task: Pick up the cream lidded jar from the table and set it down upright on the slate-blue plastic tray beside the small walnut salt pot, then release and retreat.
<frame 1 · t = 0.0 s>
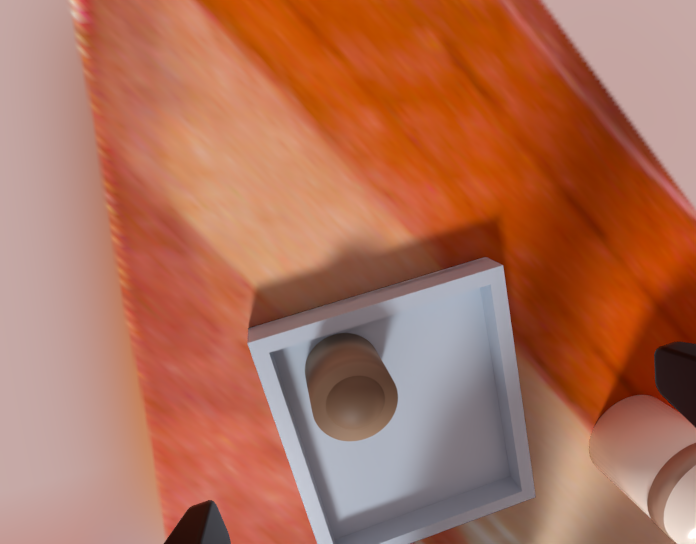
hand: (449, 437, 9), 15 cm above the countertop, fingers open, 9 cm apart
cream lidded jar: (629, 435, 30), on the countertop
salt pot: (342, 368, 24), resting on tray
tray: (399, 410, 26), on the countertop
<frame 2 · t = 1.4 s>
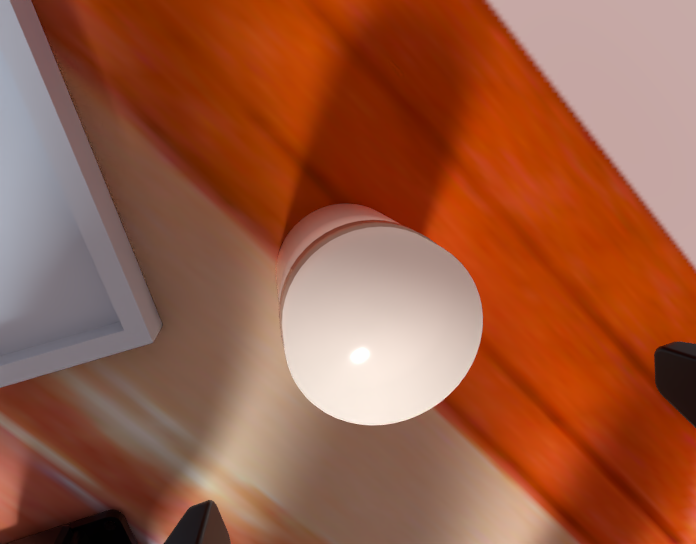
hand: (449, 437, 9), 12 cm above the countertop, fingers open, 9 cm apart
cream lidded jar: (344, 271, 20), on the countertop
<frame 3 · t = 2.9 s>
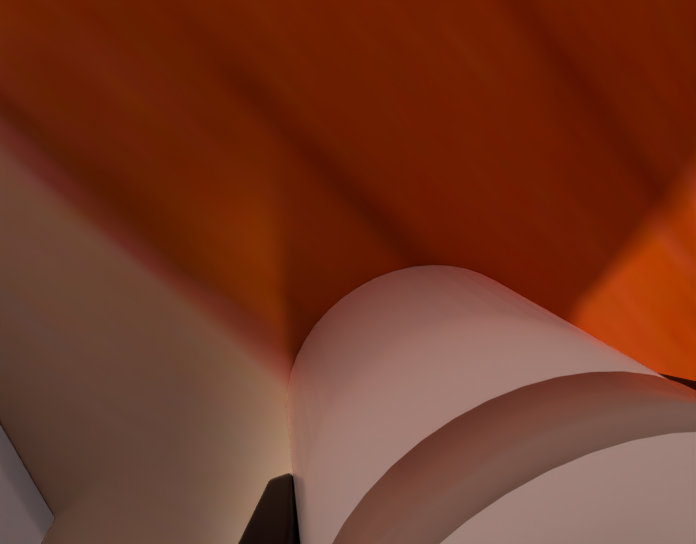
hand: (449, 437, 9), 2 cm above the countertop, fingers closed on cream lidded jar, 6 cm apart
cream lidded jar: (421, 395, 10), on the countertop, touching gripper
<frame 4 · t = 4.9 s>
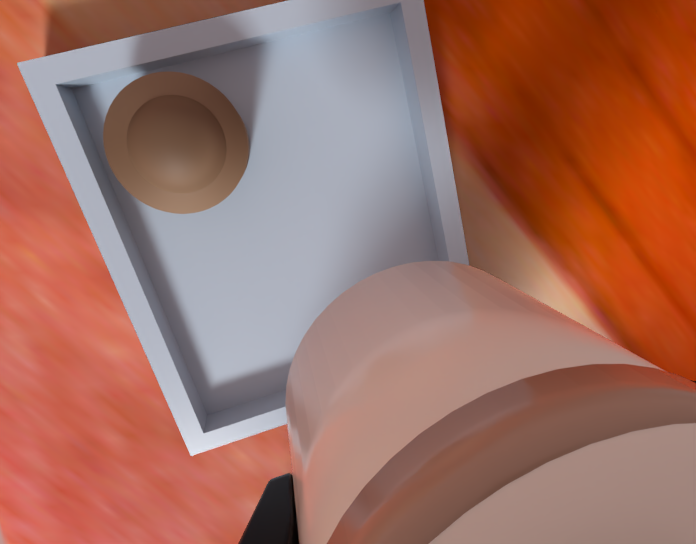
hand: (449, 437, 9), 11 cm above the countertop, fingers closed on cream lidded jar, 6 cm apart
cream lidded jar: (421, 391, 10), point 10 cm above the countertop, touching gripper
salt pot: (193, 145, 16), resting on tray
tray: (290, 228, 18), on the countertop
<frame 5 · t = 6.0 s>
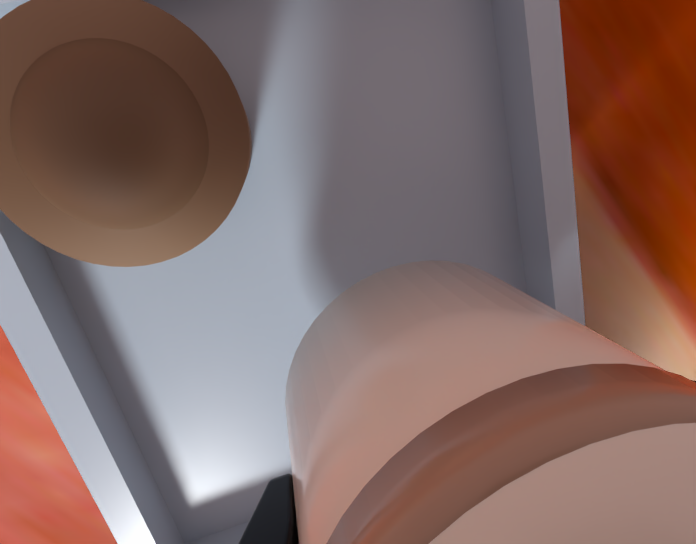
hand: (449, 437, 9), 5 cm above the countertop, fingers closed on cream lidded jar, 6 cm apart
cream lidded jar: (421, 391, 10), point 3 cm above the countertop, touching gripper
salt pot: (160, 141, 10), resting on tray
tray: (312, 269, 12), on the countertop
when the fingers open (3 cm above the countertop, at t = 6.8 s): cream lidded jar stays where it is, resting on tray.
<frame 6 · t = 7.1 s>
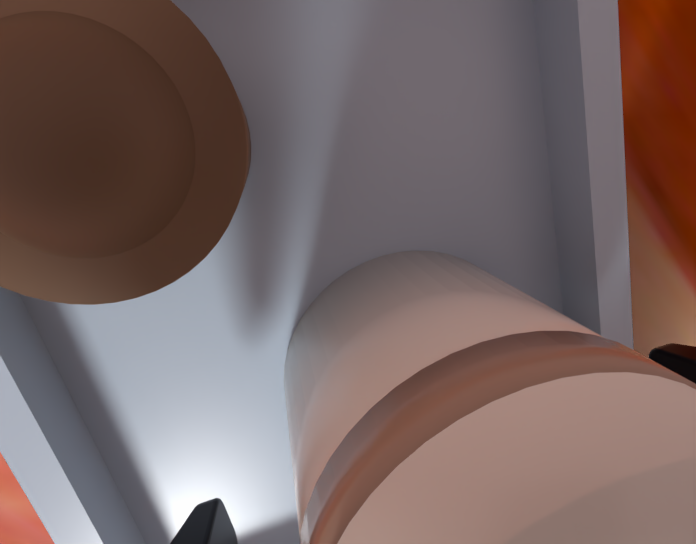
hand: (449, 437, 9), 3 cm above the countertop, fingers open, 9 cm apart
cream lidded jar: (408, 371, 11), point 1 cm above the countertop, touching tray
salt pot: (142, 144, 8), resting on tray
tray: (320, 290, 10), on the countertop
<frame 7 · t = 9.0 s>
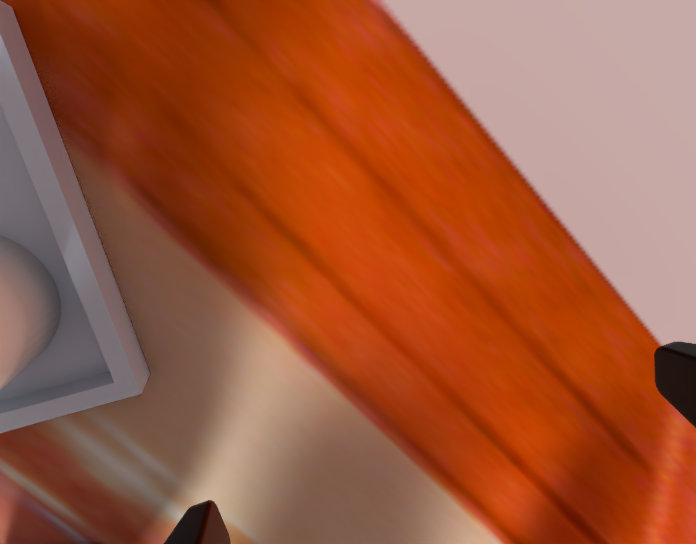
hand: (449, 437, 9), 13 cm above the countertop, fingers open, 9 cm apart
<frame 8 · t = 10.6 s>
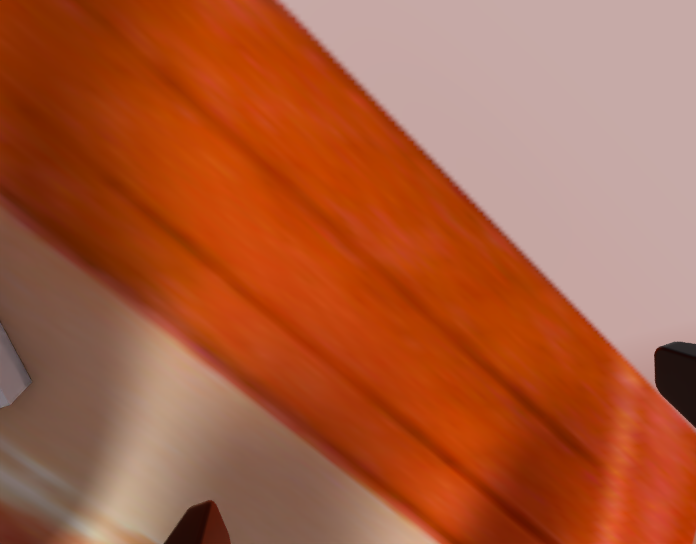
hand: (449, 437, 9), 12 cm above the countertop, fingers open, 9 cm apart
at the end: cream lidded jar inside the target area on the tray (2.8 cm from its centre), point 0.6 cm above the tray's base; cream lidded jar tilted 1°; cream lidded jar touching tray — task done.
